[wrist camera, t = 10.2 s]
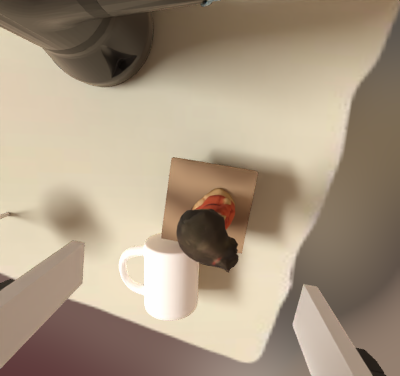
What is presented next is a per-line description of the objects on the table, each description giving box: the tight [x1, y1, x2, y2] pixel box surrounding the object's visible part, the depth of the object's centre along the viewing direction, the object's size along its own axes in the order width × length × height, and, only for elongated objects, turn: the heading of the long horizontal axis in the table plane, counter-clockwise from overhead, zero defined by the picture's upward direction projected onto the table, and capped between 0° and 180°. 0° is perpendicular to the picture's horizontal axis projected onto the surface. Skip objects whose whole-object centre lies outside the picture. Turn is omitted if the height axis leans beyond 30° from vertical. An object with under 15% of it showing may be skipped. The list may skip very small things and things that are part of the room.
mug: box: [119, 233, 199, 321], centre depth 37 cm, size 12×10×8 cm
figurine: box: [176, 188, 238, 272], centre depth 27 cm, size 6×6×12 cm
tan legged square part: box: [161, 157, 258, 253], centre depth 35 cm, size 11×11×6 cm
